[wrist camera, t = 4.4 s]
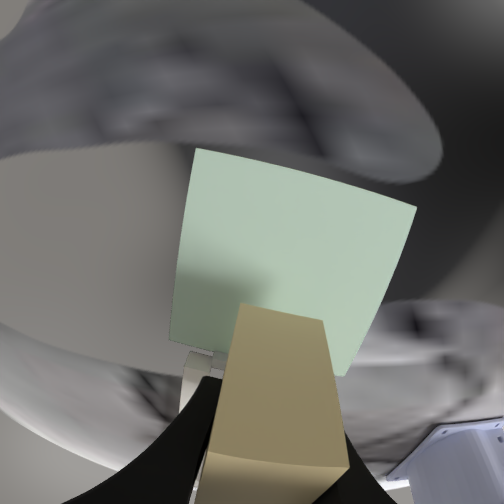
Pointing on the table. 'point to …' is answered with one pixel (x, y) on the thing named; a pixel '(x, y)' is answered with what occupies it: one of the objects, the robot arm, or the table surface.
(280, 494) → the tan rectangular block
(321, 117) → the table surface
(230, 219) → the mat
